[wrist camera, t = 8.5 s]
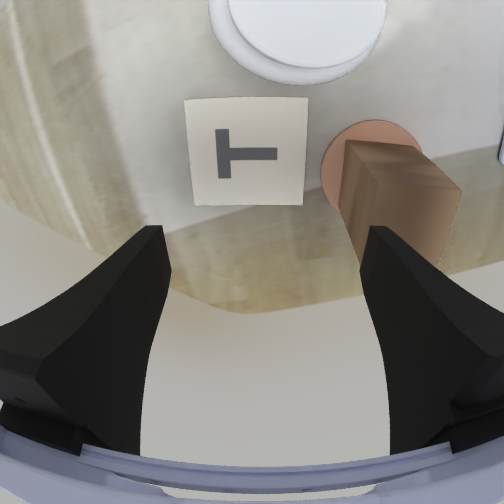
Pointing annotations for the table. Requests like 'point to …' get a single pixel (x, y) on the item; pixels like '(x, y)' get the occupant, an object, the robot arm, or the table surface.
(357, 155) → the walnut block
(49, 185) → the table surface
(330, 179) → the pink rounded smooth part
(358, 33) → the supplement bottle
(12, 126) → the table surface
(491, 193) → the table surface
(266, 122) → the letter tile
